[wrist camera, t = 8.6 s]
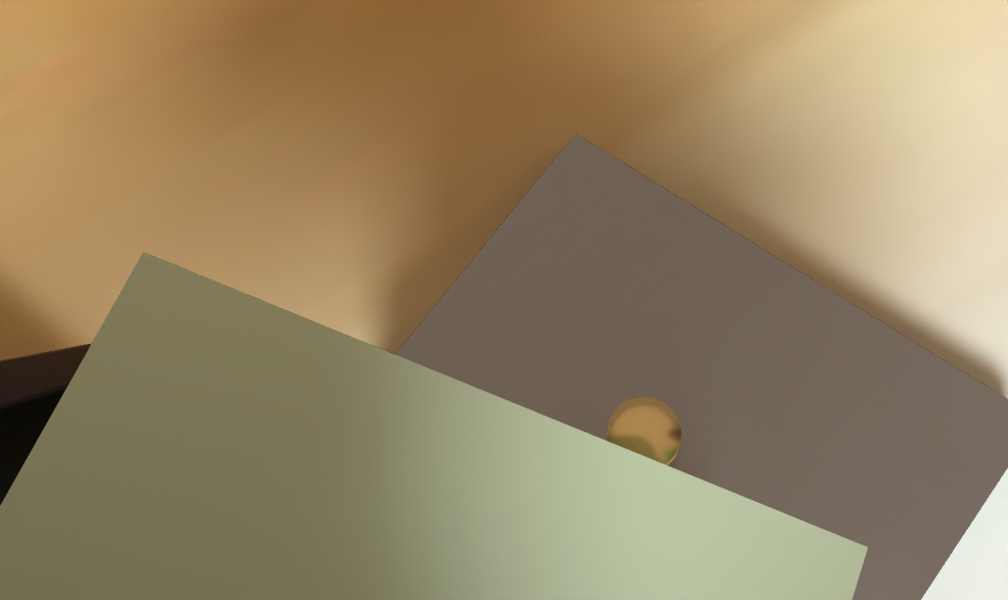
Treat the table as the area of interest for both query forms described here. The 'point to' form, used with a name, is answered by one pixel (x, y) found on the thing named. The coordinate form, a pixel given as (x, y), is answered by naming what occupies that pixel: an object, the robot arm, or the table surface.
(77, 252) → the table surface
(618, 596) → the board block
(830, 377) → the chassis
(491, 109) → the table surface
